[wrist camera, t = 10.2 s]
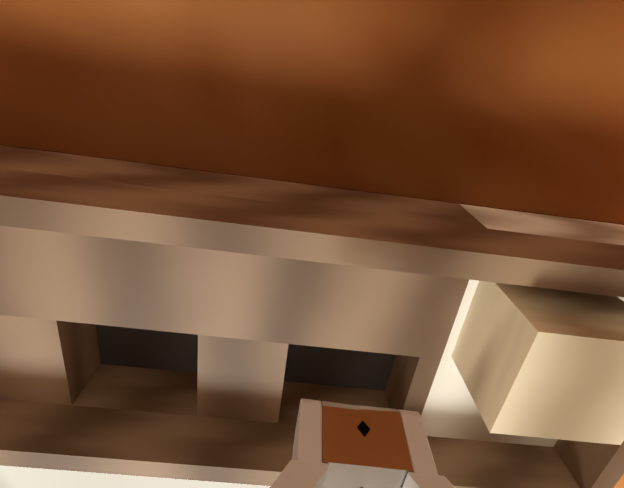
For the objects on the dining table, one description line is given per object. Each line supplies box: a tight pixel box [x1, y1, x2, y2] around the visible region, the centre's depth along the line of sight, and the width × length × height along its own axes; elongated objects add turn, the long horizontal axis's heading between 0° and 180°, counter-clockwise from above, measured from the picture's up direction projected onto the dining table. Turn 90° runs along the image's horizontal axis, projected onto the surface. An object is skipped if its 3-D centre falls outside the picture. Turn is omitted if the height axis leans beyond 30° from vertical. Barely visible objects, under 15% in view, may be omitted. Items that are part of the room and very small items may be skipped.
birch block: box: [451, 281, 624, 445], centre depth 14 cm, size 5×4×4 cm
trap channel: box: [0, 145, 624, 488], centre depth 17 cm, size 35×12×6 cm, turn 82°
